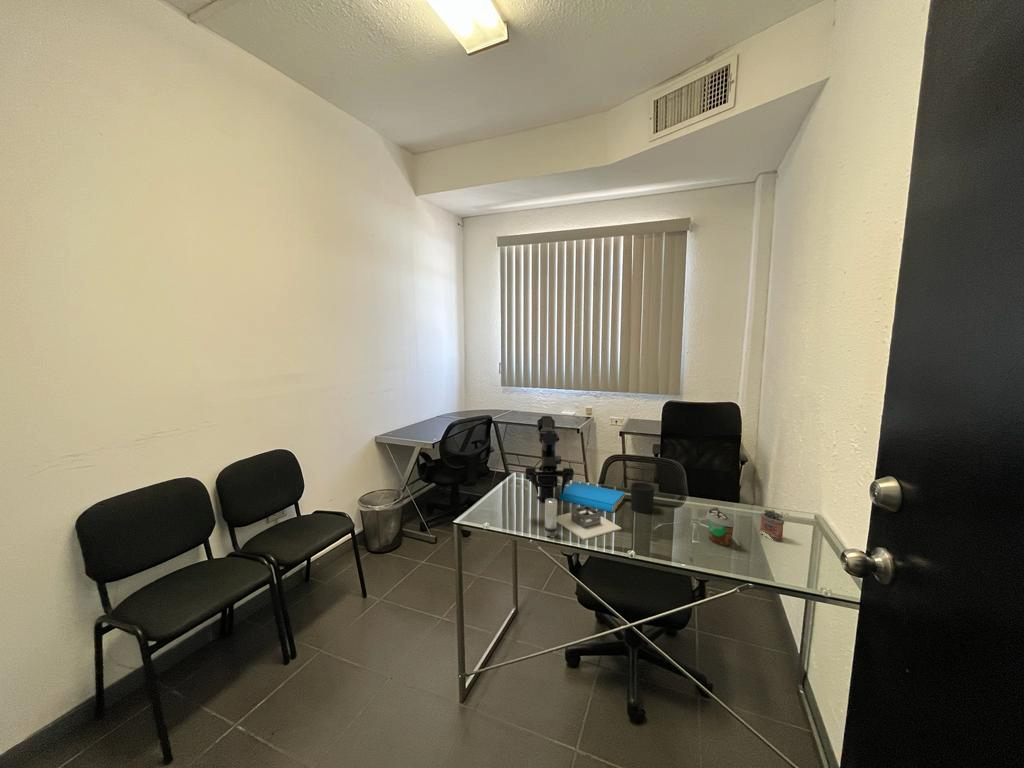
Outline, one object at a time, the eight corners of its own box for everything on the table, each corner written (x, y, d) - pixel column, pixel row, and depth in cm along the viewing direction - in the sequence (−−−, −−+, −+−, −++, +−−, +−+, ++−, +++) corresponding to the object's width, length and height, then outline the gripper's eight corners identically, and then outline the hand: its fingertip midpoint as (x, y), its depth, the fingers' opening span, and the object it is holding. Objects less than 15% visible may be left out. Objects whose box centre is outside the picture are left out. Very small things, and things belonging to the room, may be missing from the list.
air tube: (542, 533, 148) (542, 499, 147) (552, 530, 150) (552, 497, 149) (548, 538, 144) (549, 503, 143) (559, 535, 146) (560, 501, 145)
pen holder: (658, 510, 169) (659, 487, 168) (643, 515, 164) (644, 492, 163) (639, 503, 177) (640, 481, 176) (625, 507, 171) (626, 485, 170)
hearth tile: (552, 518, 160) (552, 517, 160) (587, 509, 169) (587, 508, 169) (583, 540, 143) (583, 538, 143) (621, 529, 151) (621, 527, 151)
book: (573, 481, 193) (625, 491, 180) (573, 490, 194) (625, 500, 180) (558, 492, 179) (613, 503, 166) (558, 501, 180) (612, 514, 166)
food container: (699, 532, 150) (700, 506, 149) (715, 532, 149) (717, 506, 148) (714, 548, 137) (716, 520, 136) (732, 549, 137) (734, 521, 136)
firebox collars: (571, 520, 157) (571, 509, 157) (587, 516, 161) (587, 505, 161) (584, 528, 150) (584, 516, 150) (600, 524, 154) (600, 512, 154)
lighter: (757, 533, 149) (758, 507, 148) (763, 531, 150) (764, 506, 149) (778, 543, 141) (780, 516, 140) (784, 541, 143) (787, 514, 142)
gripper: (525, 447, 156) (525, 484, 146) (573, 448, 156) (576, 485, 146) (525, 461, 165) (525, 497, 155) (570, 461, 164) (573, 498, 155)
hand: (549, 494), depth 152 cm, fingers open, 9 cm apart
